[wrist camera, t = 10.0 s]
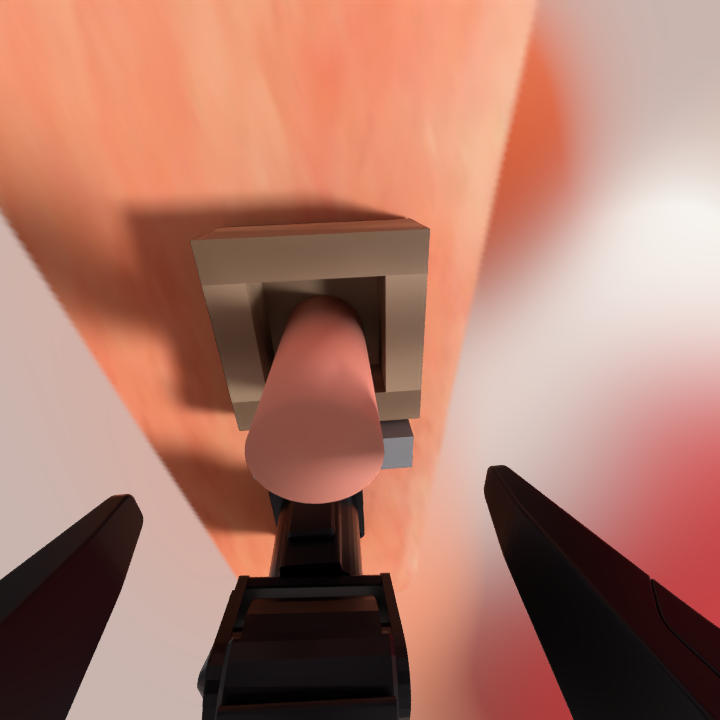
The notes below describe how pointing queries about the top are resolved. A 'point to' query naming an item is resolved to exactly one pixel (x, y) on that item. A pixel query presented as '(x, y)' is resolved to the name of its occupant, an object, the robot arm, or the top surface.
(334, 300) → the dowel
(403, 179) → the top surface
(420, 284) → the socket block
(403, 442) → the wall
